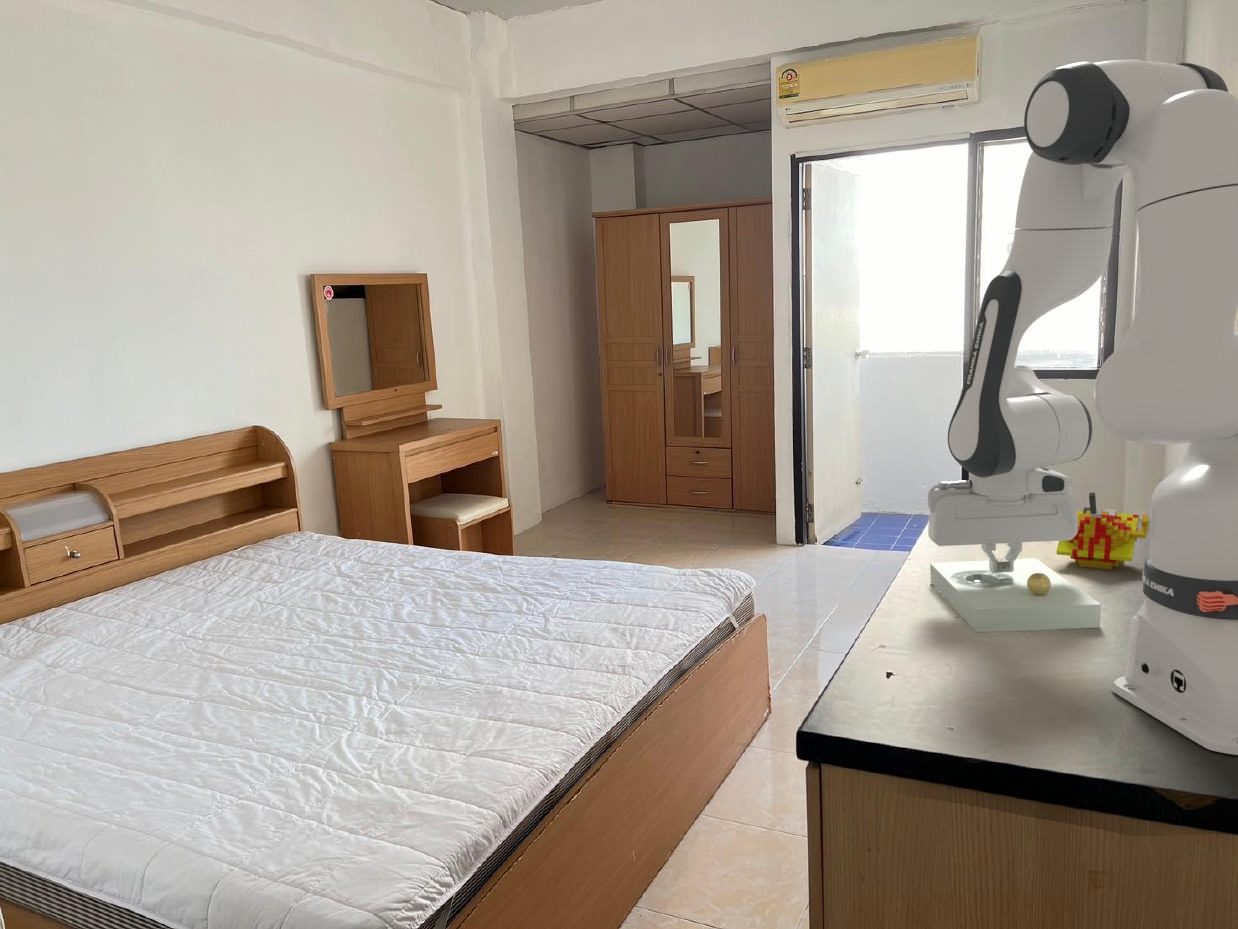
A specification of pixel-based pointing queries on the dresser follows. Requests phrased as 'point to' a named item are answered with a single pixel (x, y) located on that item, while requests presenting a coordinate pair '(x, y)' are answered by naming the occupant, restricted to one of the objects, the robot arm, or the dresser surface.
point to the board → (1013, 597)
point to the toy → (1103, 537)
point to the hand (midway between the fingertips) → (1001, 571)
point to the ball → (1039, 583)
